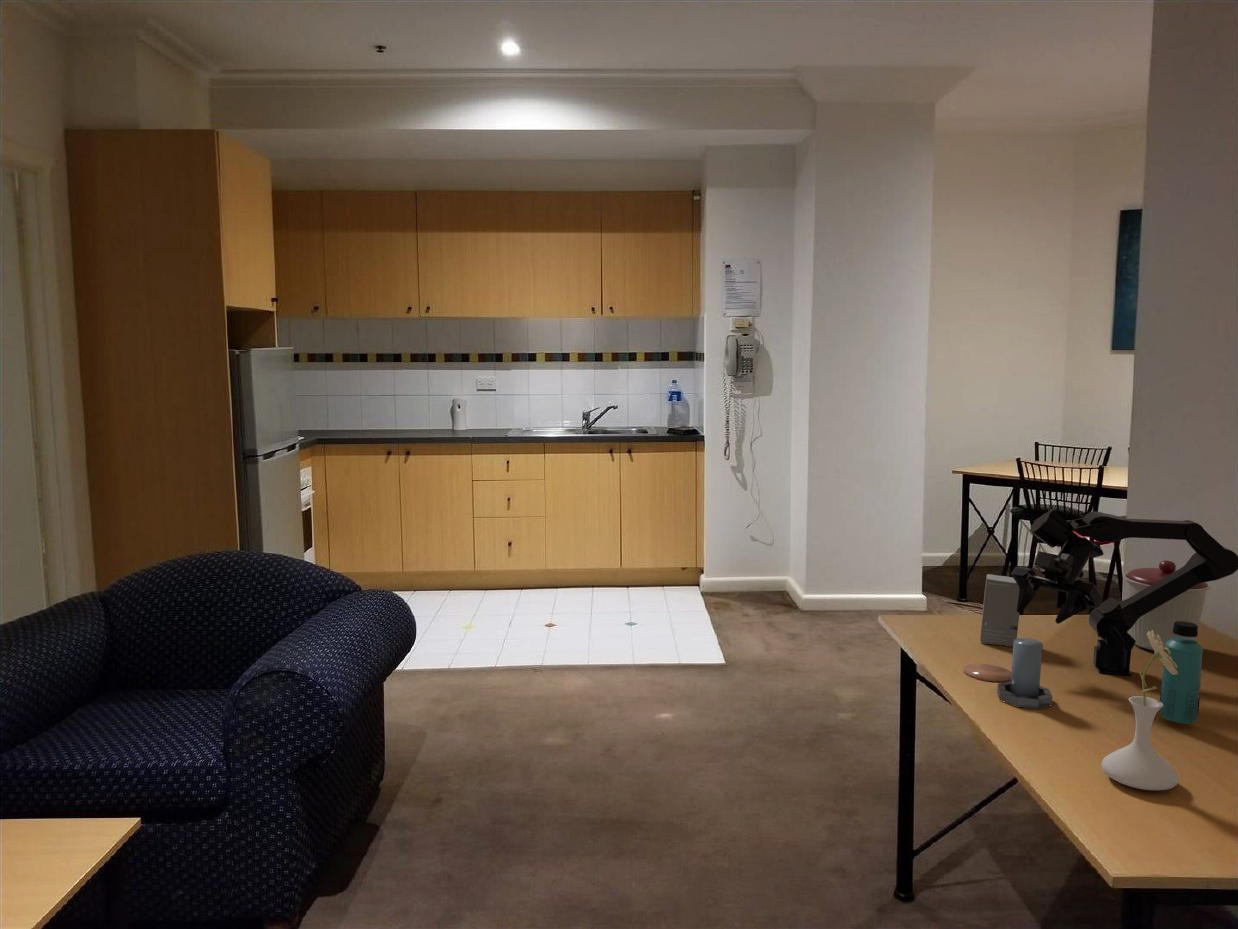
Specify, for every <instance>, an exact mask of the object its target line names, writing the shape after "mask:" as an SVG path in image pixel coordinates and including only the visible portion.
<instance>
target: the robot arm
mask: <svg viewBox="0 0 1238 929" xmlns="http://www.w3.org/2000/svg"><path fill="white" fill-rule="evenodd" d="M1029 532H1030V533H1031V534H1032V535H1033V536H1035V537H1037V538H1038V539H1039V540H1041V541H1042V542H1043V543H1044V544H1045V545H1047V546H1048V547H1049V548H1052V549H1053V548H1056V547H1057V548H1061V547H1062V548H1061V549H1060V550H1059V552H1058V554H1055V553H1051V552H1045V551H1041V550H1038V551H1037V554H1036V556H1035V559H1034V562H1033V566H1035V567H1038V568H1040V573H1041V574H1042V575H1044V577H1041V576H1038V575H1037V574H1036V572H1035V570H1034V569H1032V568H1028V567H1024V566H1020V565H1019V566H1018V565H1017V566H1015V567H1014V568H1013V570H1012V572H1011V573H1010V575H1011V577H1012V578H1014V580H1015V581H1016V583H1017V584H1018V586H1019V598H1018V604H1017V612H1018V613H1020V614H1021V613H1023V611H1024V610H1025V609H1026V608H1027V607H1028V605H1029V604H1030V603H1031V602H1032V600H1033V599H1034V598H1035V597H1036V596H1037V593H1036V592H1037V591H1039V589H1040V588H1046V589H1051V590H1054V591H1059V592H1062V593H1067V598H1066V600H1065V602H1064V604H1063V606H1062V607H1061V609H1060V610H1059V611H1058V614H1057V615H1056V618H1055V620H1054V621H1055V623H1056V624H1058V625H1059V624H1061V623H1063V622H1064V621H1066V620H1068V619H1069V618H1071V617H1073V616H1076V615H1077V614H1078V613H1079V614H1080V613H1081V612H1083V611H1085V610H1091V609H1092V608H1094V609H1092V610H1091V611H1090V613H1089V616H1088V623H1089V626H1090V627H1091V628H1092V629H1093V630H1094V631H1095V632H1096V635H1097V637H1098V638H1100V639H1097V643H1096V644H1097V645H1095V646H1093V647H1094V648H1093V658H1092V664H1093V665H1094V668H1096V670H1097V672H1098V673H1100V674H1101V673H1102V674H1110V675H1113V674H1114V675H1119V676H1120V675H1122V676H1130V677H1131V676H1132V672H1131V671H1130V668H1131V656H1132V650H1133V648H1134V646H1135V645H1136V644H1135V642H1136V641H1135V640H1134V639H1133V638H1132V637H1131V636H1130V635H1129V633H1128V631H1129V630H1130V629H1131V628H1132V627H1133V625H1134V624H1135V623H1136V621H1137V620H1138V619H1139V618H1140V617H1141V616H1143V615H1145V614H1147V613H1148V612H1150V611H1152V610H1154V609H1155V608H1157V607H1159V606H1161V605H1162V604H1164V603H1166V602H1168V601H1169V600H1171V599H1173V598H1175V597H1177V596H1178V595H1180V594H1182V593H1184V592H1185V591H1187V590H1189V589H1191V588H1192V587H1194V586H1196V585H1198V584H1200V583H1204V582H1208V583H1209V582H1214V581H1218V580H1221V579H1223V578H1226V577H1229V576H1231V575H1234V574H1235V573H1236V572H1237V571H1238V554H1236V552H1235V551H1233V550H1232V549H1229V548H1227V547H1225V546H1224V545H1221V543H1219V542H1218V541H1217V539H1215V538H1214V537H1213V536H1211V534H1209V533H1208V532H1207V531H1206V530H1205V529H1204V527H1203V526H1202V524H1200V523H1198V522H1195V521H1194V520H1190V519H1185V520H1172V519H1171V520H1168V519H1150V518H1149V519H1144V518H1143V519H1142V518H1127V517H1123V516H1118V515H1115V514H1111V513H1104V512H1101V511H1089V512H1088V513H1086V514H1085V515H1084V516H1083V517H1081V518H1077V519H1073V520H1072V519H1071V520H1068V521H1067V520H1066V519H1064V518H1063V517H1061V515H1060V514H1059V513H1058V512H1057V511H1056V510H1054V509H1053V508H1050V509H1049V510H1048V511H1047V512H1044V513H1043V514H1042V515H1041V516H1040V517H1037V518H1036V519H1035V521H1034V522H1033V523H1032V525H1031V527H1030V529H1029ZM1088 538H1091V539H1092V540H1094V541H1096V542H1099V543H1097V544H1096V543H1094V542H1092V541H1091V540H1090V539H1088ZM1132 538H1135V539H1156V540H1157V539H1158V540H1159V539H1160V540H1179V541H1180V540H1181V541H1182V540H1184V541H1186V543H1187V544H1188V545H1189V547H1191V549H1192V550H1193V551H1194V553H1193V554H1191V555H1192V556H1191V557H1190V558H1189V559H1188V560H1187V562H1186V563H1185V565H1183V566H1182V567H1180V568H1178V569H1176V570H1177V571H1175V572H1173V573H1171V574H1170V575H1168V576H1166V577H1164V578H1163V579H1161V580H1159V581H1157V582H1156V583H1154V584H1152V585H1151V586H1149V587H1147V588H1145V589H1144V590H1142V591H1140V592H1138V593H1137V594H1135V595H1133V596H1131V597H1130V598H1128V599H1127V598H1126V599H1123V600H1120V601H1117V600H1116V599H1115V598H1113V597H1108V598H1107V599H1106V600H1104V601H1103V597H1102V594H1101V592H1100V591H1099V589H1098V588H1097V586H1096V584H1095V583H1094V582H1090V581H1086V580H1082V578H1083V576H1084V575H1085V574H1084V572H1083V569H1084V568H1085V566H1086V564H1087V562H1088V561H1089V559H1090V557H1091V558H1093V559H1095V558H1098V557H1101V556H1104V551H1103V549H1102V547H1101V544H1100V543H1107V542H1109V543H1110V542H1116V541H1121V540H1125V539H1132ZM1078 578H1081V579H1078Z"/></svg>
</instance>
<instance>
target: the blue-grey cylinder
mask: <svg viewBox="0 0 1238 929" xmlns="http://www.w3.org/2000/svg"><path fill="white" fill-rule="evenodd" d="M1043 649H1044V644H1043V642H1042V641H1039V640H1037V639H1032V638H1028V637H1025V638H1024V637H1021V638H1019V637H1017V639H1015V640H1014V644H1013V647H1012V657H1011V658H1012V661H1011V671H1010V672H1011V680H1010V681H1011V685H1010V692H1011V693H1013V694H1016V695H1019V696H1027V697H1039V688H1040V686H1041V685H1040V684H1041V673H1042V660H1043V659H1042V658H1043Z"/></svg>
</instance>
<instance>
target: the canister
mask: <svg viewBox="0 0 1238 929" xmlns="http://www.w3.org/2000/svg"><path fill="white" fill-rule="evenodd" d="M1177 570H1178V569H1177V564H1176V563H1175V562H1174V561H1172V560H1167V559H1166V560H1162V561H1160V562H1159V563H1158V567H1138V568H1134V569H1132V570H1130V571H1127V572H1125V573H1123V575H1122V577H1123V579H1124V580H1125V593H1126V594H1125V595H1126V596H1125V597H1126V599H1128V598H1130V597H1131V596H1133V595H1135V594H1137V593H1138V592H1140V591H1142V590H1144V589H1145V588H1147V587H1149V586H1151V585H1152V584H1154V583H1156V582H1157V581H1159V580H1161V579H1163V578H1164V577H1166V576H1168V575H1170V574H1171V573H1173V572H1175V571H1177ZM1210 589H1211V584H1210V583H1209V582H1204V583H1200V584H1198V585H1196V586H1194V587H1192V588H1191V589H1189V590H1187V591H1185V592H1184V593H1182V594H1180V595H1178V596H1177V597H1175V598H1173V599H1171V600H1169V601H1168V602H1166V603H1164V604H1162V605H1161V606H1159V607H1157V608H1155V609H1154V610H1152V611H1150V612H1148V613H1147V614H1145V615H1143V616H1141V617H1140V618H1139V619H1138V620H1137V621H1136V623H1135V624H1134V625H1133V627H1132V628H1131V629H1130V630H1129V631H1127V633H1128V634H1129V635H1130V636H1131V637H1132V638H1133V639H1134V640H1135V641H1136V642H1135V644H1134V645H1136V646H1137V647H1139V648H1142V649H1146V650H1150V651H1153V652H1155V651H1154V649H1153V648H1152V646H1151V644H1150V641H1149V639H1148V636H1147V633H1148V632H1149V631H1150V632H1151V631H1152V630H1153V631H1154V633H1155V635H1156V638H1157V635H1159V636H1160V638H1161V641H1162V643H1163V644H1164V648H1165V643H1166V642H1167V641H1169V640H1170V639H1172V638H1176V637H1179V638H1187V639H1192V640H1194V641H1196V638H1197V637H1185V636H1180V635H1176V634H1174V633H1173V632H1172V631H1173V626H1174V622H1176V621H1185V622H1191V623H1194V624H1196V625H1197V626H1198V627H1199V626H1200V621H1201V618H1202V615H1203V610H1204V609H1203V608H1204V604H1205V599H1206V596H1207V591H1208V590H1210Z"/></svg>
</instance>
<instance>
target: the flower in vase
mask: <svg viewBox="0 0 1238 929" xmlns="http://www.w3.org/2000/svg"><path fill="white" fill-rule="evenodd" d="M1147 636H1148V639H1149V641H1150V644H1151V646H1152V648H1153V649H1154V651H1153V652H1154V653H1153V655H1152V657H1151V659H1150V660H1149V661H1148V663H1147V665H1146V666H1145V668H1144V670H1143V673H1142V671H1140V672H1139V676H1140V679H1141V683H1142V684H1141V686H1142V690H1141V691H1140V693H1142V696H1140V695H1136V696H1135V695H1134V696H1130V697H1129V698H1128V701H1129V703H1130V704H1131V707H1132V708H1133V711H1134V716H1135V732H1134V737H1133V740H1132V741H1131V743H1130V744H1128V745H1126V746H1124V747H1122V748H1119V749H1117V750H1114V751H1113V752H1111V753H1109V754H1107V755H1106V756H1104V758H1103V759H1102V761H1101V762H1100V765H1101V769H1102V770H1103V772H1104V774H1105V775H1107V776H1108V777H1109V778H1110V779H1112V780H1114V781H1117V782H1118V783H1120V784H1122V785H1125V786H1128V787H1130V788H1133V789H1138V790H1139V789H1140V790H1145V791H1166V790H1171V789H1173V788H1174V787H1176V786H1177V785H1178V784H1179V782H1180V779H1179V774H1178V772H1177V771H1176V770H1175V769H1174V767H1173V766H1172V765H1171V764H1170V763H1169V762H1168V761H1167V760H1166V759H1165V758H1164V757H1163V756H1162V755H1160V754H1159V753H1158V752H1157V751H1156V749H1155V748H1154V747H1153V745H1152V742H1151V735H1152V734H1151V733H1152V727H1153V723H1154V719H1155V717H1156V714H1157V713H1158V712H1160V709H1161V708H1162V707H1163V703H1162V702H1160V701H1161V700H1157V699H1156V698H1152V697H1148V696H1146V692H1149V691H1153V690H1158V687H1157V686H1156V685H1153V686H1152V687H1149V688H1148V686H1147V681H1146V680H1145V678H1146V677H1145V676H1146V673H1147V672H1148V670H1149V667H1150V666H1151V665H1152V663H1153V661H1154V660H1155V658H1157V659H1159V661H1160V662H1161V663H1162V666H1165V667H1166V669H1167V670H1168V671H1169V672H1170V673H1171V674H1172V675H1175V674H1178V672H1177V670H1176V669H1175V668H1174V667H1176V668H1177V665H1176V663H1175V662H1174V661H1173V660H1172V658H1171V657H1170V656H1169V655H1170V650H1169V649H1168V648H1166V647H1165V648H1164V644H1163V643H1162V641H1161V638H1160V636H1159V635H1157V638H1156V635H1155V633H1154V631H1153V630H1152V631H1151V632H1150V631H1149V632H1148V633H1147Z"/></svg>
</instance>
